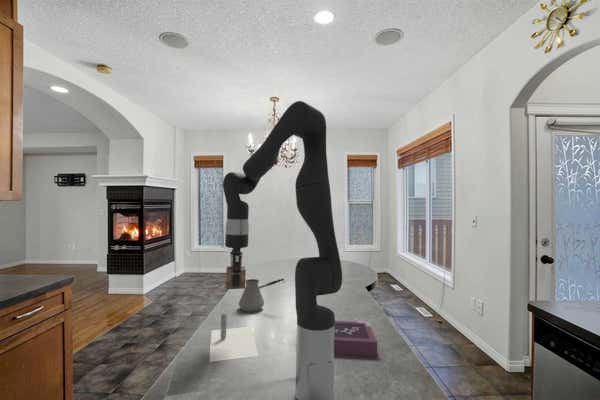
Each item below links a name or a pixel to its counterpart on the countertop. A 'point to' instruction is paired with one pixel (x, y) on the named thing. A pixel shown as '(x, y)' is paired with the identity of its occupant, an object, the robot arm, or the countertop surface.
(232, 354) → the board
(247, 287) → the coffee pot
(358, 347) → the book
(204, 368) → the countertop surface
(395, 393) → the countertop surface
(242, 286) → the brown wooden hollow cube
